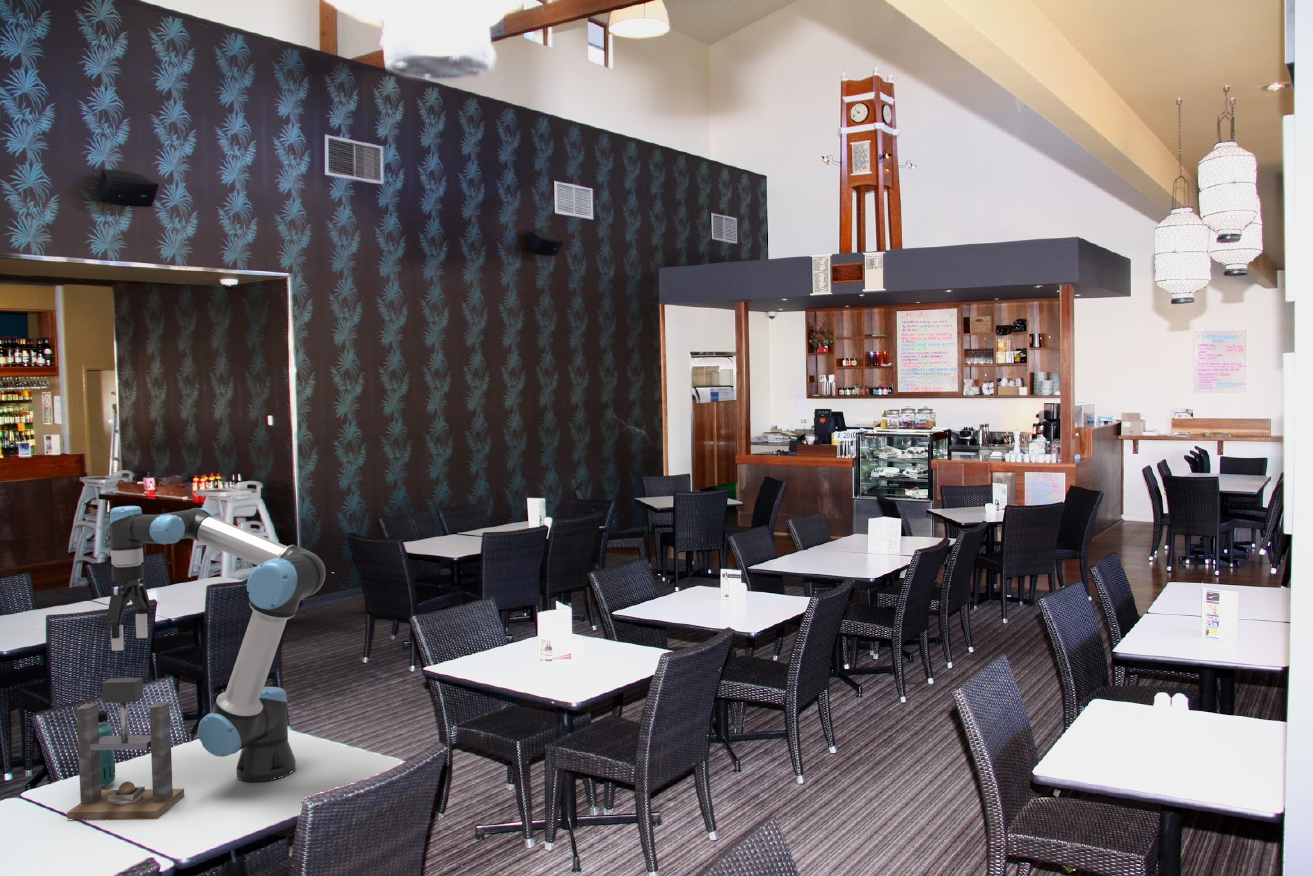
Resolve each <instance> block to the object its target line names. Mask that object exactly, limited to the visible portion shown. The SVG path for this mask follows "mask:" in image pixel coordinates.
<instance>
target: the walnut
mask: <svg viewBox="0 0 1313 876" xmlns="http://www.w3.org/2000/svg"><path fill="white" fill-rule="evenodd" d="M135 787H136V786H135V784H134V783H133V782H131V781H124V782H122V783H121V784H120V785H119V787H118V789H119V794H120V795H131V794H133V792H134V790H135Z"/></svg>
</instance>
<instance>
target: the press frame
mask: <svg viewBox="0 0 1313 876" xmlns="http://www.w3.org/2000/svg"><path fill="white" fill-rule="evenodd" d="M98 704H99V703H84V704H83V705H80V706H79V707H77V708H76V722H77V748H78V749H77V750H78V773H79V795H80V797H79V798H80V802H79V803H78V804H77V805H76V806H74V807H72V808H71V809H70V810H69V811H67V812H66V820H67V819H78V820H77V821H107V820H106V819H108V821H111V820H113V821H114V820H120V821H121V820H156V819H157V820H158V819H160V818H161V817H162V816H163V815H164V814H165V813H166V812H167V811H168V810H170V809H171V808H172V807H174V805H176V804H178V802H180V801H181V800H182V799H183V798H184V797H185V788H174V787H173V765H172V762H173V761H172V738H171V714H170V713H171V712H170V710H171V709H170V707H171V706H170V702H169V701H167V702H165V701H163V702H161V701H160V702H156V703H155V704H152V705H151V706H149V725H150V728H149V729H150V731H149V733H150V735H151V747H150V754H151V755H150V756H151V758H150V760H151V779H152V780H151V782H152V783H151V785H152V788H146V787H145V786H135V790H134V792H133V794H131V795H120V794H119V788H117V789H102V786H101V772H100V750H90V744H91V743H93V742H95V741H96V740H98V739H99V724H100V723H98V712H99V705H98ZM83 819H84V820H83ZM87 819H88V820H87ZM97 819H99V820H97Z"/></svg>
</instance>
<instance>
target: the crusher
mask: <svg viewBox="0 0 1313 876" xmlns="http://www.w3.org/2000/svg"><path fill="white" fill-rule="evenodd" d="M143 681H144V680H143V677H115V678H114V677H110V678H108V679H107V680H105V681H102V682H101V690H102V691H101V694H102V703H103V704H105V703H106V704H107V703H109V704H112V703H113V704H114V703H115V704H116V703H117V704H119V715H120V716H119V720H120V721H119V722H120V735H113V736H103V737H101V738H99V739H98V740H96V741H95V742H93V743H91V744H90V750H114V751H120V750H121V751H123V750H125V751H129V750H148V749H149V748H150V749H151V734H149V735H148V734H147V735H145V734H144V735H140V734H139V735H129V725H128V723H129V721H128V718H129V717H128V703H137V702H138V701H139V700H141V699H144V685H143V684H144V683H143Z"/></svg>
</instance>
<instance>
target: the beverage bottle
mask: <svg viewBox="0 0 1313 876" xmlns="http://www.w3.org/2000/svg"><path fill="white" fill-rule="evenodd" d="M108 720H109V717H108V712H107V711H98V723H99V738H101V737H103V736H114V734H113V733H114V732H113V731H114V727H113V726H112V725H111V724H109V723H106V721H108ZM100 772H101V787H102V786H107V785H110V784H112V783H114V782H115V779H116V763H115V750H100Z"/></svg>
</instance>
